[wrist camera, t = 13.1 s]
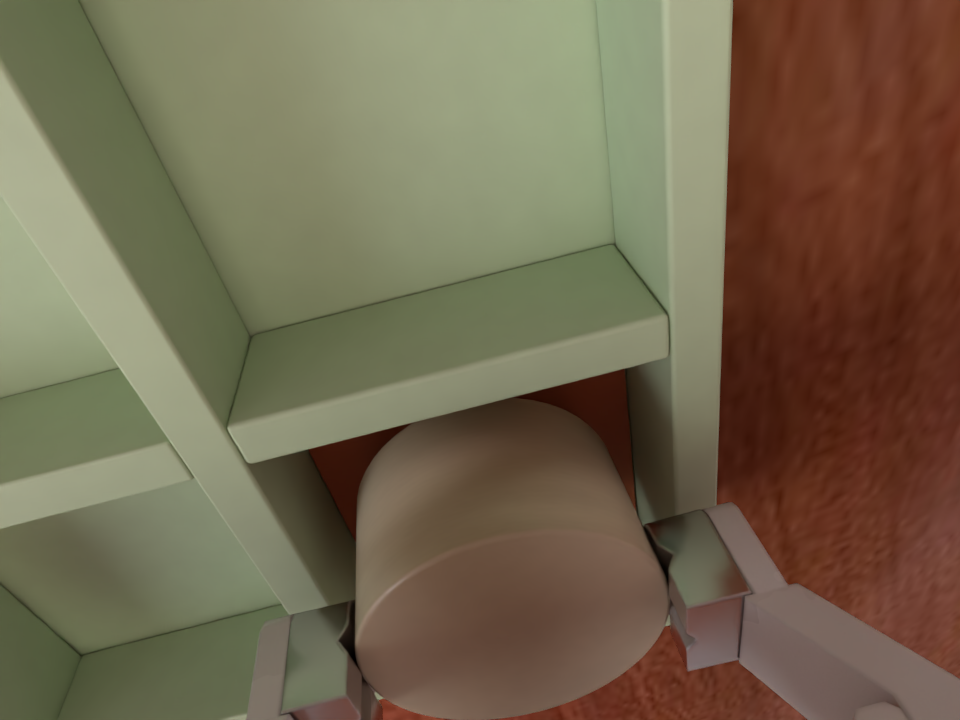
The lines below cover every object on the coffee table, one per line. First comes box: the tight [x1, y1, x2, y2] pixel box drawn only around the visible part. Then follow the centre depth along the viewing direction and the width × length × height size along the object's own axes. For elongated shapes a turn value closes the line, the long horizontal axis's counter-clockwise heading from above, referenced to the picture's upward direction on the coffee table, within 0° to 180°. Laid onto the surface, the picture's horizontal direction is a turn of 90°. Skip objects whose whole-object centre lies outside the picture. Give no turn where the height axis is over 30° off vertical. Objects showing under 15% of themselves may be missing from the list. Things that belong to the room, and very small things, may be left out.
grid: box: [0, 0, 733, 720], centre depth 10 cm, size 15×15×3 cm
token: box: [355, 398, 670, 720], centre depth 11 cm, size 5×5×3 cm
